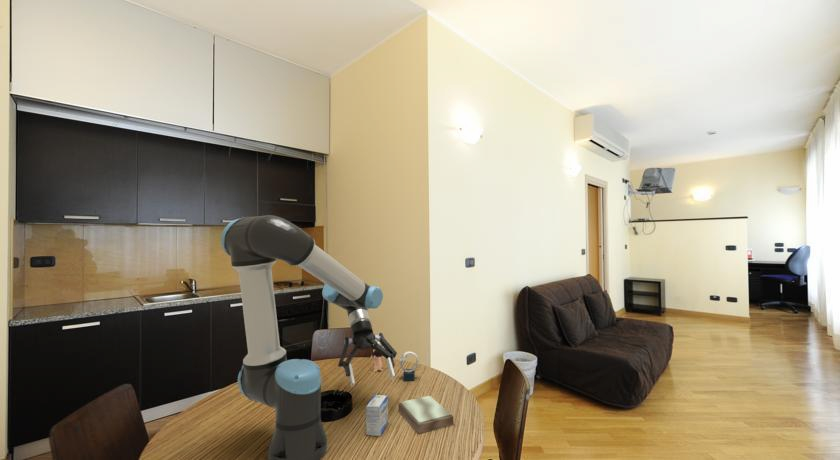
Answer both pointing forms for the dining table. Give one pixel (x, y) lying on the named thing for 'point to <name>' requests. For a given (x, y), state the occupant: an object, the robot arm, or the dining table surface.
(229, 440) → the dining table surface
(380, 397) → the medicine box
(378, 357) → the grandmother figurine
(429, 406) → the platform
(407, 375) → the watch
